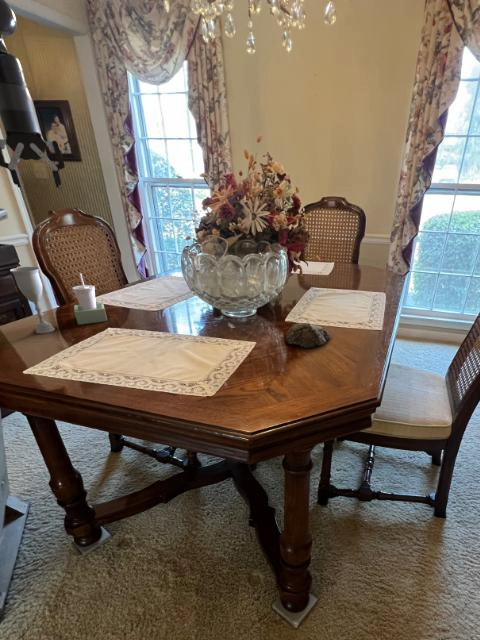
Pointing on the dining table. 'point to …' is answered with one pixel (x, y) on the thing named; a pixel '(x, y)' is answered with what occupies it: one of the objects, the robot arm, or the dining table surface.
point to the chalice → (32, 292)
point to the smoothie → (85, 295)
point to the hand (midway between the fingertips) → (39, 187)
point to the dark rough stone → (307, 335)
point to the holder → (90, 314)
